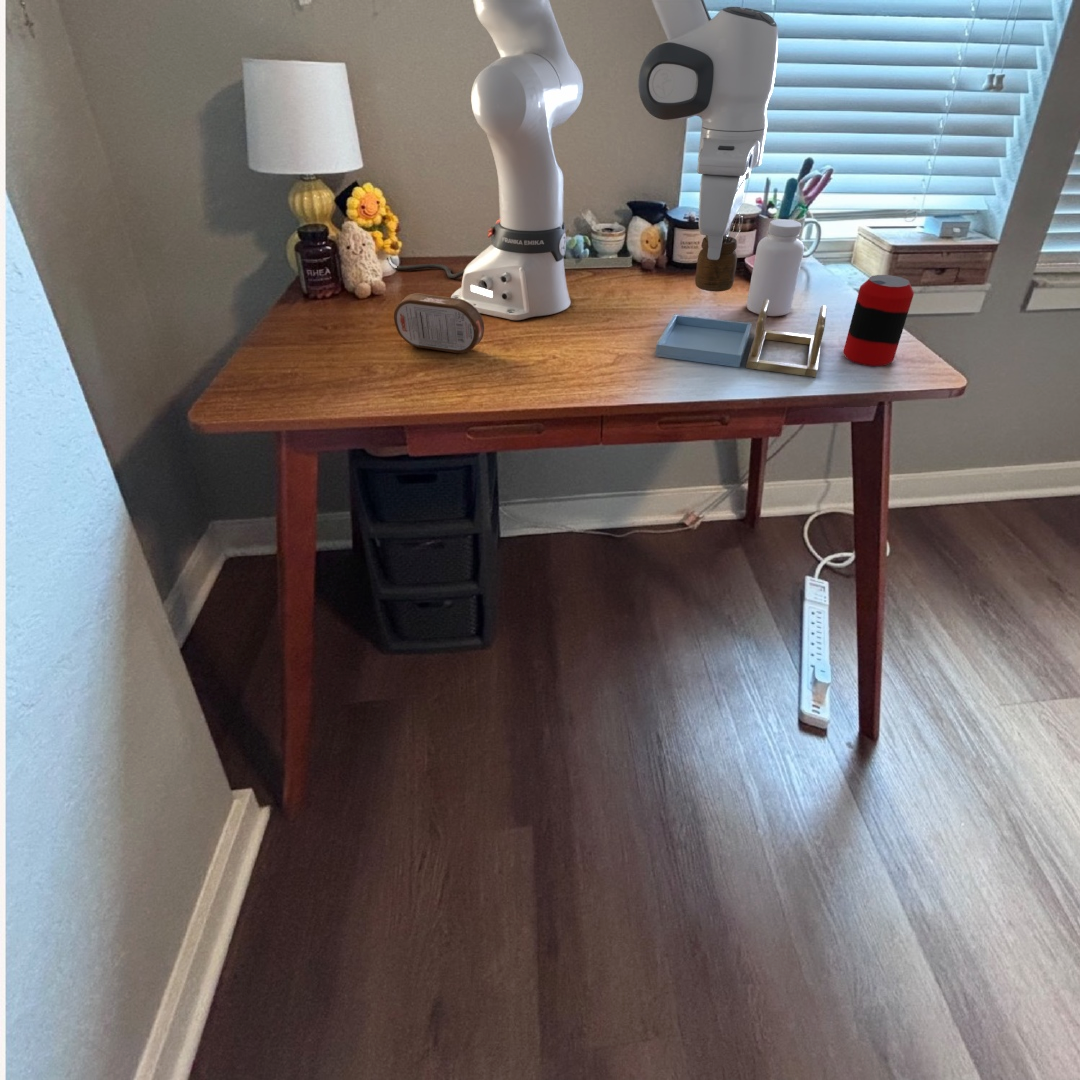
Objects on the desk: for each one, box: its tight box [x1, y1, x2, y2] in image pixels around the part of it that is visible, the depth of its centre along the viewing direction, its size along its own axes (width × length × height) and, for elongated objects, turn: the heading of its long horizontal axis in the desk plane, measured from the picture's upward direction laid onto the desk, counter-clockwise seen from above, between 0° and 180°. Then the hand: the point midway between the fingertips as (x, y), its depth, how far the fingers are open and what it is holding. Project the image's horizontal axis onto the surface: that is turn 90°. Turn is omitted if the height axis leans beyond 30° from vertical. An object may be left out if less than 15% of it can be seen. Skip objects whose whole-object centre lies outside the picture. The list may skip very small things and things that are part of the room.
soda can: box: [842, 274, 915, 367], centre depth 111 cm, size 8×8×12 cm
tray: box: [654, 314, 753, 368], centre depth 118 cm, size 13×14×2 cm
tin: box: [393, 292, 485, 354], centre depth 116 cm, size 15×3×8 cm, turn 71°
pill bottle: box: [746, 218, 805, 317], centre depth 127 cm, size 8×8×15 cm
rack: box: [745, 299, 828, 378], centre depth 113 cm, size 10×14×7 cm
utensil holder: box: [694, 212, 744, 292], centre depth 109 cm, size 6×6×12 cm
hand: (717, 252), depth 110 cm, fingers closed on utensil holder, 5 cm apart
